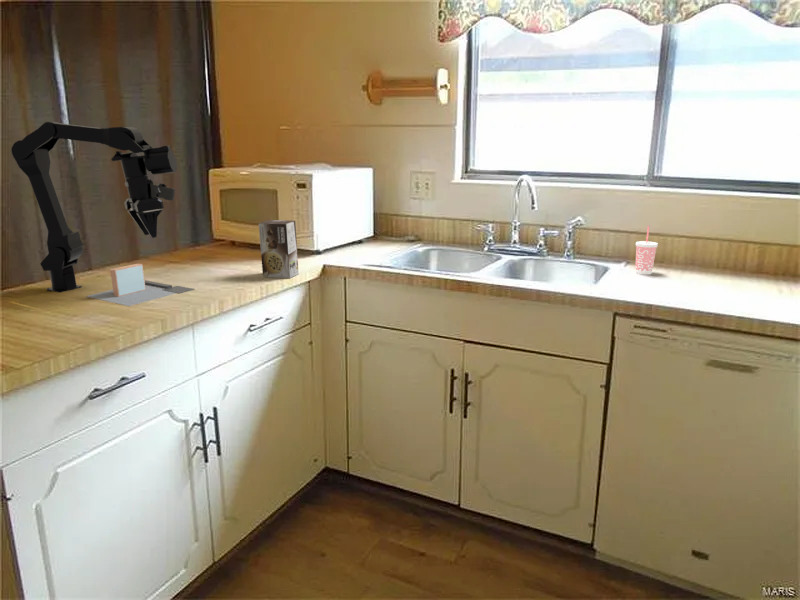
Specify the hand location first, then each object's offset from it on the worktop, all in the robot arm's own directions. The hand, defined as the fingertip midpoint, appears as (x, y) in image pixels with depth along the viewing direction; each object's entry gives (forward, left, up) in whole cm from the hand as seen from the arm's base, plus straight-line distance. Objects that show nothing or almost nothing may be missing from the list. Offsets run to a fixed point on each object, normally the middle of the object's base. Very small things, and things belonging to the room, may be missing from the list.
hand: (150, 236), depth 157 cm
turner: (+2, +1, -14) cm, 15 cm away
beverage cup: (+111, +85, -15) cm, 141 cm away
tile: (-1, -8, -14) cm, 16 cm away
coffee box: (+19, +28, -15) cm, 37 cm away
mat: (+1, -8, -14) cm, 16 cm away
